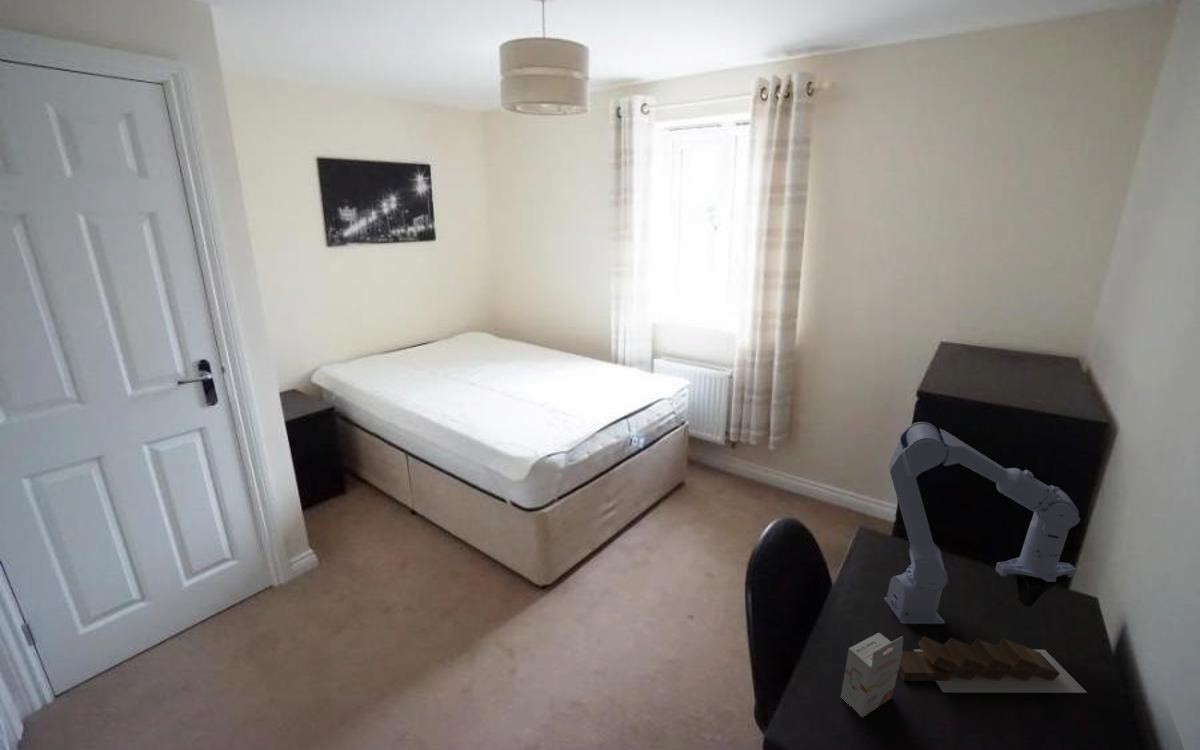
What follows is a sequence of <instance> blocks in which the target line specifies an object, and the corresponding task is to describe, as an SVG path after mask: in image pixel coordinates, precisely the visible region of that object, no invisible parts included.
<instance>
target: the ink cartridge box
mask: <svg viewBox="0 0 1200 750" xmlns="http://www.w3.org/2000/svg"><path fill="white" fill-rule="evenodd" d="M903 647H904V636H900V637H898V638H896V639H894V640H893V641H891V640H889V638H887V637H886V636H884V635H882V633H880V632H877V633H875V634H874V635H872V636H869V637H868V638H866V639H864V640H863V641H860V642H857V644H855V645H852V646H850V647H849V648H848V652H847V657H846V658H847V659H846V663H845V664H846V665H845V669H844V676H843V682H842V688H841V694H840V699H841V698H842V699H843V700H844V701H845V702H846V703H847V704H846V703H845V702H844V701H843V700H842V699H841V700H842V701H843V702H844V703H845V704H846V705H848V704H849V705H848V706H849V707H850V706H851V707H852V708H853V709H854V710H855V711H856V712H857V713H858V716H859V717H861V718H862V717H863V718H864V716H865V717H866V716H868V715H869V714H870V713H871V712H872V711H875V710H876V709H877V708H879V707H880V706H882V705H883V704H885V703H887V702H889V700H891V699H893V695H894V691H895V687H896V682H897V677H898V675H899V673H898V669H899V665H900V660H901V656H902V652H903ZM851 707H850V708H851ZM852 708H851V709H852ZM853 709H852V710H853ZM854 710H853V711H854ZM855 711H854V712H855ZM856 712H855V713H856ZM857 713H856V714H857ZM867 714H868V715H867Z"/></svg>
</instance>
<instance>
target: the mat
mask: <svg viewBox="0 0 1200 750" xmlns="http://www.w3.org/2000/svg"><path fill="white" fill-rule="evenodd" d="M1034 650H1035V651H1037V652H1040V653H1041V654H1042V655H1043V656H1044V657H1045V658H1046V659H1047V660H1048V662H1049V663H1050V664H1051V665H1052V666H1053V667H1054V668H1055V669H1056V670H1057V671H1058V672H1059V673H1060V674H1059V675H1058V677H1057V678H1056V679H1055V680H1054V681H1052V680H1050V679H1047V678H1044V677H1042V676H1039V675H1036V674H1033V675H1032V676H1031V677H1030V678H1029V679H1028V680H1027V681H1026V680H1023V679H1020V678H1018V677H1015V676H1012V675H1009V674H1007V673H1006V674H1005V675H1004V676H1003V677H1002V678H1001V680H1000V681H998V680H996V679H993V678H990V677H988V676H985V675H983V674H980V673H977V674H976V675H975V677H974V678H973V679H972V680H969V679H967V678H964V677H962V676H959V675H957V674H955V673H952V676H951V680H950V681H935V683H936V685H938V687H939V688H940V690H941V692H942V693H975V694H976V693H993V694H994V693H998V694H999V693H1008V694H1009V693H1013V694H1014V693H1019V694H1020V693H1023V694H1024V693H1025V694H1026V693H1030V694H1031V693H1035V694H1036V693H1037V694H1039V693H1042V694H1043V693H1044V694H1045V693H1047V694H1048V693H1049V694H1051V693H1052V694H1053V693H1054V694H1055V693H1056V694H1058V693H1059V694H1061V693H1062V694H1063V693H1064V694H1066V693H1067V694H1069V693H1070V694H1071V693H1072V694H1074V693H1075V694H1076V693H1078V694H1081V693H1082V694H1087V693H1088V692H1087V690H1085V689H1084V688H1083V687H1082V686H1081V684H1079V683H1078V681H1076V680H1075V679H1074V678H1073V677H1072V675H1071V674H1069V673H1068V672H1067V670H1065V668H1064V667H1062V666H1061V664H1060V663H1058V661H1056V659H1055V658H1054V657H1052V656H1051V655H1050V654H1049V653H1048V652H1047V650H1046V649H1034ZM913 652H923V650H922V649H921V648H917V649H914V648H913Z"/></svg>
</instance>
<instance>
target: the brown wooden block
mask: <svg viewBox="0 0 1200 750" xmlns="http://www.w3.org/2000/svg"><path fill="white" fill-rule="evenodd" d="M996 646H997V647H998V648H999V649H1000V650H1001V651H1002V653H1003V654H1004V655H1005V656H1006V657H1007V658H1008V659H1009V660H1010V662H1011V663H1012V664H1013V665H1014V666H1015V667H1018V668H1020V669H1023V670H1026V671H1028V672H1031V673H1034V674H1036V675H1039V676H1042V677H1044V678H1047V679H1050V680H1052V681H1054V680H1055V679H1056V678H1057V677H1058V675H1059V674H1060V673H1059V672H1058V671H1057V670H1056V669H1055V668H1054V667H1053V666H1052V665H1051V664H1050V663H1049V662H1048V660H1047V659H1046V658H1045V657H1044V656H1043V655H1042V654H1041V653H1040V652H1037V651H1035V650H1036V649H1032V648H1030V647H1027V646H1024V645H1021V644H1019V643H1016V642H1013V641H1011V640H1008V639H1005V638H1001V639H1000V640H999V641H998V643H997V644H996Z"/></svg>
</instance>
